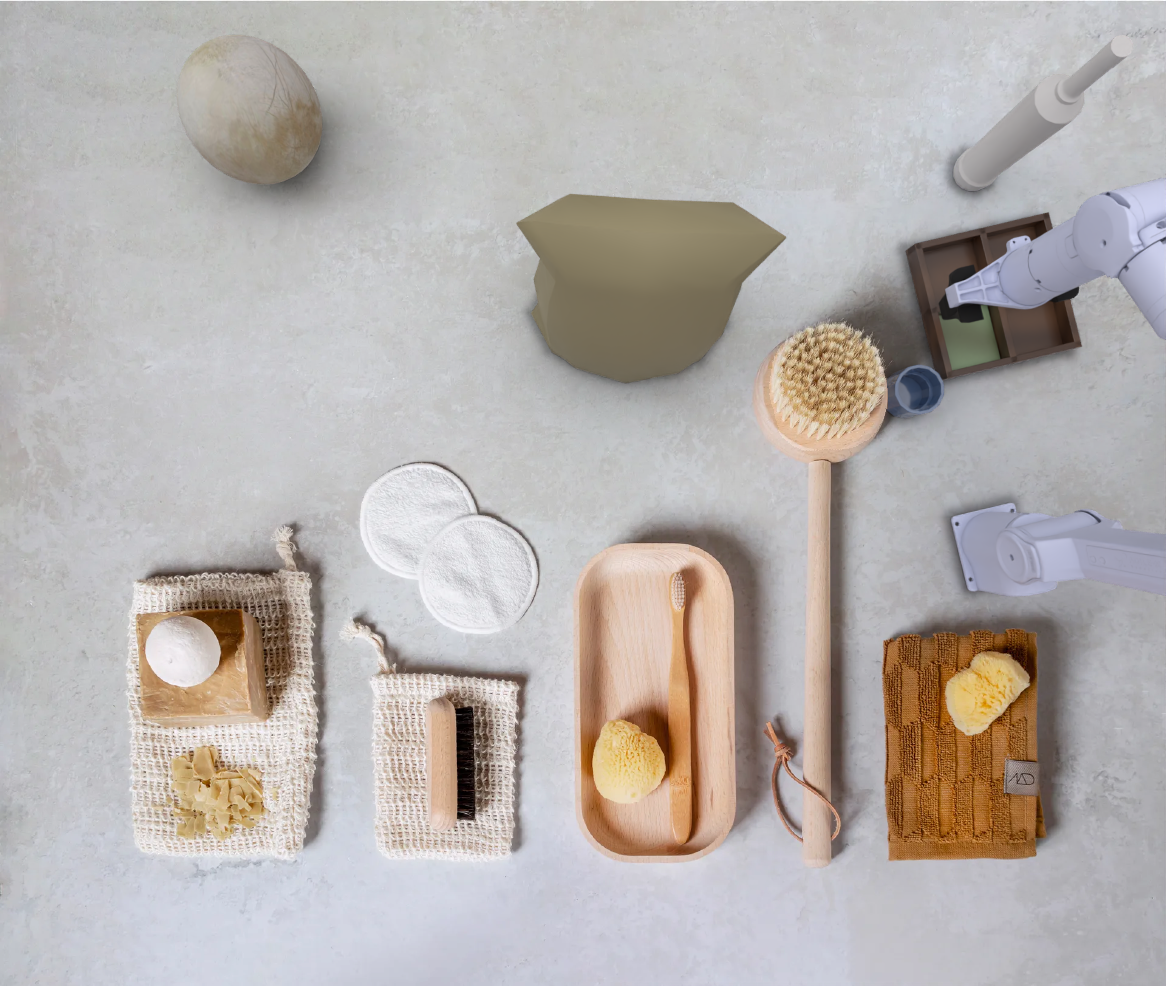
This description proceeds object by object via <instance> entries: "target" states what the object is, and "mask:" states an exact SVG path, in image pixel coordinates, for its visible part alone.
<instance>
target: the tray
mask: <svg viewBox="0 0 1166 986" xmlns="http://www.w3.org/2000/svg"><path fill="white" fill-rule="evenodd" d="M1052 223H1053V222H1052V219H1051V215H1050V212H1049V211H1048V212H1043V213H1039V214H1035V215H1030V216H1026V217H1021V218H1017V219H1013V220H1009V221H1005V222H1000V223H996V224H993V225H988V226H987V225H986V226H983V227H979V228H975V229H971V230H966V231H962V232H958V233H954V234H950V235H945V236H942V237H938V238H933V239H928V240H925V241H920V242H916V243H913V244H912V245H911V246H910V247H909V248H907V249H906V250H905V254H906V255H905V256H906V259H907V263H908V267H909V270H910V273H911V275H910V276H911V279H912V283H913V287H914V291H915V295H916V299H917V303H918V308H919V311H920V315H921V320H922V324H923V328H924V332H925V336H926V340H927V345H928V348H929V351H930V357H931V361H932V364H933V365H932V366H933V369H934V370H935V371H936V372H937V373H939V375H940V377H941V379H942V381H943V382H944V381H948V380H951V379H956V378H960V377H964V376H968V375H973V374H977V373H981V372H986V371H989V370H994V369H999V368H1001V367H1002V368H1003V367H1006V366H1011V365H1014V364H1019V363H1023V362H1027V361H1031V360H1036V359H1040V358H1044V357H1047V356H1053V355H1057V354H1061V353H1066V352H1069V351H1073V350H1075V349H1076V350H1077V349H1079V348H1082V347H1083V345H1082V340H1081V337H1080V332H1079V328H1078V325H1077V321H1076V316H1075V312H1074V309H1073V308H1074V307H1073V304H1072V301H1071V300H1072V299H1069V300H1065V301H1061V302H1056V303H1055V302H1052V301H1047V302H1046V303H1044V304H1042V305H1040V306H1038V307H1035V308H1032V309H1016V308H1008V307H1000V306H992V305H983V304H981V308H982V313H983V317H984V320H979V321H975V322H971V323H961V322H960V321H959V320H958V319H951V320H943V319H942V316H941V312H940V308H939V302H940V300H941V299H942V297H943V296H944V295H945V293H946V291H945V289H946V288H948V285H949V274H950V273H951V272H953V271H954V270H956V269H957V268H960V267H965V266H969V265H973V264H974V267H975V271H976V273H978V272H979V271H981V270H982V269H984V268H985V267H987V266H988V265H990V264H991V263H993V262H994V261H996V260H997V259H999V258H1000V257H1002V256H1003V255H1005V254H1006V253H1007V247H1006V244H1007V242H1008V241H1009V240H1011V239H1013V238H1017V237H1021V236H1028V237H1029V238H1030V240H1031V241H1033V240H1034V239H1036V238H1038V237H1040V236H1041V235H1043V234H1045V233H1046V232H1048V231H1050V230H1051V229H1053V228H1054V227H1053V224H1052Z"/></svg>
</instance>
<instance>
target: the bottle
mask: <svg viewBox="0 0 1166 986" xmlns="http://www.w3.org/2000/svg"><path fill="white" fill-rule="evenodd" d="M1133 51H1134V42H1133V40H1132V39H1131V38H1130V37H1129V36H1128V35H1126V34H1118V35H1116V36H1114V38H1112V39H1111V40H1110V41H1109V42H1108V43H1106V44H1105V45H1104V46H1103V47H1102V48H1101V49H1100V50H1099V51H1097V53H1096V54H1094V55H1093V56H1092V57H1091V58H1090V59H1089V60H1088V61H1087V62H1085V63H1084V64H1083V65H1082V66H1081V67H1079V68H1078V69H1077V70H1076V71H1075V72H1074V73H1073V74H1072V75H1068V74H1065V73H1053V74H1051V75H1048V76H1046V77H1044V78H1043V79H1042V80H1041V81H1040V82H1039V83H1038V84H1037V85H1036V86H1035V87H1034V88H1033V89H1031V91H1029V92H1028V93H1027V94H1026V95H1025V96H1024V97H1023V98H1022V99H1021V100H1020V101H1019V102H1018V103H1017V104H1016V105H1015V106H1014V107H1013V108H1011V110H1010V111H1008V112H1007V113H1006V114H1005V115H1004V116H1003V117H1002V118H1001V119H1000V120H999V121H998V122H997V123H996V124H995V125H994V126H993V127H991V129H990V130H989V131H988V132H986V134H984V135H983V137H981V139H979V140H978V141H977V142H976V143H975V144H974V145H973V146H970V147H968V148H966V149H965V150H964V151H963V152H962V153H961V154H960V156H959V157H957V159H956V161H955V162H954V166H953V170H952V177H953V179H954V181H955V183H956V185H958V187H960V188H961V189H962V190H964V191H967V192H977V191H980V190H983V189H985V188H987V187H988V186H991V185H992V184H993V183H994V182H995V180H996V179H998V177H999V176H1000V175H1001V174H1002V173H1003V172H1006V170H1008V169H1009V168H1010V167H1012V166H1013V165H1014V164H1016V163H1017V162H1019V161H1020V160H1021V159H1023V158H1025V156H1027V155H1028V154H1030V153H1031V152H1032V151H1034V150H1035V149H1036V148H1038V147H1040V146H1041V144H1044V143H1045V142H1046V141H1047V140H1048V139H1050V138H1051V137H1053V136H1054V135H1055V134H1057V133H1058V132H1060V131H1061V130H1062V129H1064V128H1065V127H1066V126H1067V125H1069V124H1070V123H1072V122H1073V121H1074V120H1075V119H1076V118H1078V116H1079V115H1080V114H1081V113H1082V112H1083V108H1084V106H1085V91H1086V90H1087V89H1089V88H1090V87H1091V86H1092V85H1094V84H1095V83H1096V82H1097V81H1098V80H1099V79H1101V78H1102V77H1103V76H1105V75H1106V74H1107V73H1109V71H1110V70H1112V69H1114V68H1115V67H1116V66H1118V65H1119V64H1120V63H1121V62H1123V61H1124V60H1125V59H1126V58H1127V57H1129V56H1130V55H1131V54H1132V53H1133Z"/></svg>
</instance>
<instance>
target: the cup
mask: <svg viewBox="0 0 1166 986" xmlns="http://www.w3.org/2000/svg"><path fill="white" fill-rule="evenodd" d="M886 379H887V388H888V409H887V410H886V411H887V412H889V413H890V414H891V415H892V416H894V417H896V418H901V419H909V418H913V417H918V416H921V415H925V414H928V413H929V414H930V413H932V412H933V411H934V410H935V409H937V408H938V407H939V406H940V405H941V403H942V401H943V398H944V396H945V383H944V380H943V381H942V379H941V377H940V375H939V373H937V372H936V371H935V369H934V368H932V367H931V366H929V365H924V364H920V363H919V364H914V365H911V366H906V367H905V368H903V369H902V368H901V369H900V370H898V371H896V372H893V373H892V374H891V375H890V376H888V377H887V378H886Z"/></svg>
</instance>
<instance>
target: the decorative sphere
mask: <svg viewBox="0 0 1166 986" xmlns="http://www.w3.org/2000/svg"><path fill="white" fill-rule="evenodd" d="M176 106H177V112H178V113H177V114H178V117H179V120H180V122H181V125H182V127H183V130H184V132H185V135H186V136H187V138H188V139H189V141H190V142H191V144H192V146H193V147H194V149H196V151H197V152H198V153H199V154H200V155H201V157H202V158H203V159H205V161H207V163H209V165H211V166H212V167H214V168H215V169H217V170H218V171H220V172H221V173H223V174H224V175H226V176H228V177H230V178H232V179H234V180H237V181H240V182H244V183H247V184H251V185H253V184H254V185H274V184H279V183H282V182H285V181H288V180H290V179H292V178H294V177H296V176H297V175H299V174H301V172H303V171H304V170H305V169H306V168H307V167H308V166H309V165H310V163H311V162H312V161H313V160H314V158H315V156H316V154H317V152H318V150H319V148H320V147H319V146H320V144H321V141H322V135H323V113H322V107H321V104H320V100H319V96H318V94H317V91H316V89H315V87H314V85H313V83H312V81H311V80H310V78H309V77H308V75H307V74H306V72H305V71H304V69H303V68H302V66H300V65H299V64H298V63H297V62H296V61H295V60H294V59H293V58H292V57H291V56H290V55H289V54H288V53H287V52H286V51H284V50H282V48H279V47H278V46H276V45H274V44H273V43H270V42H268V41H266V40H264V39H263V38H258V37H256V36H251V35H246V34H225V35H220V36H216V37H214V38H212V39H209V40H207V41H205V42H203V43H202V44H200V45H199V46H198V47H196V48H195V49H194V50H193V51H192V52H191V54H189V56H188V57H187V58H186V60H185V61H184V63H183V65H182V68H181V69H180V73H179V76H178V79H177V84H176Z"/></svg>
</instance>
